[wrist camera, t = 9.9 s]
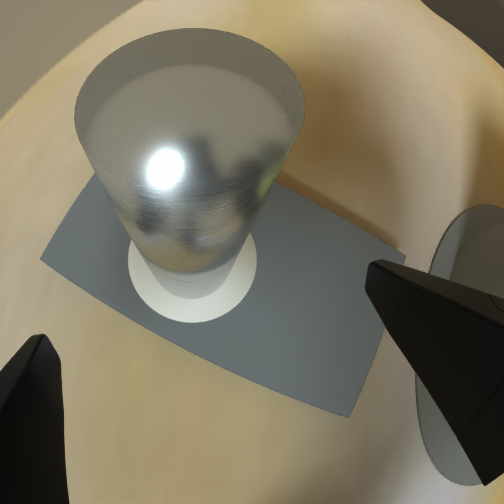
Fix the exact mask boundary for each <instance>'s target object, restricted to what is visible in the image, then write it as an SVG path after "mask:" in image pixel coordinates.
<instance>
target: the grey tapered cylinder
mask: <svg viewBox="0 0 504 504" xmlns="http://www.w3.org/2000/svg"><path fill="white" fill-rule="evenodd" d="M429 274H432V275H435V276H438V277H441V278H444V279H447V280H450V281H453V282H456V283H459V284H462V285H465V286H468V287H471V288H474V289H477V290H480V291H483V292H486V294H487V293H489V294H492V295H495V296H498V297H501V298H504V209H503V208H500V207H498V206H494V205H480V206H476V207H473V208H471V209H469V210H467V211H466V212H464V213H463V214H461V215H460V216H459V217H458V218H457V219H456V220H455V221H454V222H453V223H452V224H451V226H450V227H449V228H448V230H447V231H446V233H445V235H444V236H443V238H442V240H441V242H440V244H439V246H438V248H437V251H436V253H435V256H434V258H433V261H432V264H431V267H430V270H429ZM415 387H416V404H417V413H418V420H419V426H420V431H421V435H422V439H423V442H424V445H425V448H426V451H427V453H428V455H429V457H430V459H431V461H432V463H433V465H434V466H435V467H436V469H437V470H438V471H439V472H440V473H441V474H442V475H443V476H444V477H445V478H447V479H448V480H450V481H452V482H454V483H457V484H460V485H466V486H473V485H479V484H482V482H481V480H480V479H479V477H478V475H477V473H476V471H475V469H474V468H473V466H472V464H471V462H470V460H469V459H468V457H467V455H466V453H465V452H464V450H463V448H462V447H461V445H460V443H459V441H458V440H457V437H456V436H455V434H454V433H453V431H452V429H451V428H450V426H449V424H448V423H447V421H446V419H445V418H444V416H443V415H442V413H441V411H440V410H439V408H438V407H437V405H436V403H435V402H434V400H433V399H432V397H431V395H430V394H429V392H428V391H427V389H426V388H425V386H424V385H423V383H422V382H421V380H420V378H419V377H418V375H417V374H416V372H415Z"/></svg>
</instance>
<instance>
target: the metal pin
mask: <svg viewBox="0 0 504 504" xmlns="http://www.w3.org/2000/svg"><path fill="white" fill-rule="evenodd" d="M304 116H305V100H304V95H303V91H302V89H301V86H300V83H299V81H298V80H297V78H296V76H295V74H294V73H293V72H292V70H291V69H290V68H289V67H288V65H287V64H286V63H285V62H284V61H283V60H282V59H281V58H279V57H278V56H277V55H276V54H275V53H273V52H272V51H270V50H269V49H267V48H266V47H264V46H263V45H261V44H259V43H257V42H255V41H253V40H251V39H248V38H245V37H243V36H240V35H237V34H233V33H230V32H225V31H220V30H214V29H204V28H184V29H174V30H167V31H162V32H158V33H154V34H151V35H147V36H144V37H142V38H139V39H137V40H134V41H132V42H130V43H128V44H126V45H124V46H122V47H121V48H119V49H117V50H116V51H114V52H113V53H111V54H110V55H109V56H108V57H106V58H105V59H104V60H103V61H102V62H101V63H100V64H99V65H97V66H96V67H95V69H94V70H93V71H92V72H91V73H90V75H89V76H88V77H87V79H86V81H85V82H84V84H83V86H82V87H81V90H80V92H79V94H78V97H77V101H76V105H75V114H74V121H75V128H76V132H77V135H78V138H79V141H80V143H81V145H82V147H83V149H84V151H85V153H86V155H87V157H88V159H89V161H90V163H91V165H92V167H93V169H94V171H95V173H96V175H97V177H98V179H99V181H100V183H101V185H102V187H103V189H104V191H105V193H106V194H107V196H108V198H109V200H110V202H111V204H112V206H113V207H114V209H115V211H116V213H117V215H118V216H119V218H120V220H121V222H122V224H123V225H124V227H125V229H126V231H127V232H128V234H129V236H130V238H131V239H132V241H133V243H134V244H135V246H136V248H137V249H138V251H139V253H140V254H141V256H142V258H143V259H144V261H145V263H146V264H147V266H148V268H149V269H150V271H151V272H152V274H153V276H154V277H155V279H156V280H157V282H158V283H159V284H160V285H161V287H162V288H163V289H165V290H166V291H167V292H169V293H170V294H172V295H175V296H177V297H180V298H185V299H197V298H202V297H205V296H208V295H210V294H212V293H213V292H215V291H216V290H217V289H219V288H220V287H221V286H222V285H223V283H224V282H225V281H226V279H227V277H228V275H229V273H230V271H231V269H232V267H233V265H234V263H235V261H236V259H237V257H238V255H239V253H240V251H241V249H242V247H243V245H244V243H245V241H246V239H247V237H248V235H249V233H250V231H251V229H252V227H253V225H254V223H255V221H256V219H257V217H258V215H259V213H260V211H261V209H262V207H263V205H264V203H265V201H266V199H267V197H268V195H269V193H270V191H271V189H272V187H273V185H274V183H275V181H276V179H277V177H278V175H279V173H280V171H281V169H282V167H283V165H284V163H285V161H286V159H287V157H288V155H289V153H290V151H291V149H292V147H293V145H294V143H295V141H296V139H297V137H298V135H299V133H300V130H301V128H302V125H303V121H304Z"/></svg>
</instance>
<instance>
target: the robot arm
mask: <svg viewBox="0 0 504 504" xmlns="http://www.w3.org/2000/svg"><path fill="white" fill-rule="evenodd" d="M365 291H366V294H367V296H368V297H369V299H370V301H371V303H372V304H373V306H374V308H375V310H376V311H377V313H378V315H379V317H380V318H381V320H382V322H383V324H384V326H385V327H386V329H387V331H388V332H389V334H390V335H391V337H392V338H393V340H394V341H395V343H396V344H397V346H398V347H399V349H400V350H401V352H402V353H403V355H404V356H405V357H406V359H407V360H408V362H409V363H410V365H411V366H412V368H413V369H414V371H415V372H416V374H417V375H418V377H419V378H420V380H421V382H422V383H423V385H424V386H425V388H426V389H427V391H428V392H429V394H430V395H431V397H432V399H433V400H434V402H435V403H436V405H437V407H438V408H439V410H440V411H441V413H442V415H443V416H444V418H445V419H446V421H447V423H448V424H449V426H450V428H451V429H452V431H453V433H454V434H455V436H456V437H457V440H458V441H459V443H460V445H461V447H462V448H463V450H464V452H465V453H466V455H467V457H468V459H469V460H470V462H471V464H472V466H473V468H474V469H475V471H476V473H477V475H478V477H479V479H480V480H481V482H482V484H483V485H484V486H486V485H488V484H489V483H491V482H492V481H493V480H495V479H496V478H498V477H499V476H500V475H502V474H503V473H504V298H501V297H498V296H495V295H492V294H489V293H487V294H486V292H483V291H480V290H477V289H474V288H471V287H468V286H465V285H462V284H459V283H456V282H453V281H450V280H447V279H444V278H441V277H438V276H435V275H432V274H428V273H425V272H422V271H419V270H416V269H413V268H410V267H406V266H403V265H400V264H397V263H394V262H390V261H387V260H384V259H379V260H375V261H372V262H370V263H369V265H368V268H367V274H366V280H365ZM0 504H70V503H69V496H68V487H67V476H66V463H65V444H64V407H63V394H62V378H61V361H60V358H59V355H58V354H57V352H56V350H55V349H54V347H53V345H52V343H51V342H50V340H49V338H48V337H47V336H46V335H45V334H38V335H33V336H31V337H30V338H29V339H28V340H27V341H26V342H25V343H24V345H23V346H22V347H21V348H20V349H19V350H18V351H17V352H16V354H15V355H14V356H13V357H12V358H11V359H10V360H9V362H8V363H7V364H6V365H5V366H4V367H3V369H2V370H1V371H0Z"/></svg>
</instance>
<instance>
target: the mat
mask: <svg viewBox="0 0 504 504" xmlns="http://www.w3.org/2000/svg"><path fill="white" fill-rule="evenodd" d="M405 257H406V256H405V255H404V254H402V253H401V252H399V251H397V250H396V249H394V248H393V247H391V246H389V245H388V244H386V243H384V242H383V241H381V240H379V239H378V238H376V237H374V236H373V235H371V234H369V233H368V232H366V231H364V230H363V229H361V228H359V227H357V226H356V225H354V224H352V223H350V222H349V221H347V220H345V219H343V218H342V217H340V216H338V215H336V214H335V213H333V212H331V211H329V210H327V209H326V208H324V207H322V206H320V205H318V204H317V203H315V202H313V201H311V200H309V199H307V198H306V197H304V196H302V195H300V194H298V193H296V192H294V191H292V190H291V189H289V188H287V187H285V186H283V185H281V184H279V183H277V182H275V183H274V185H273V187H272V189H271V191H270V193H269V195H268V197H267V199H266V201H265V203H264V205H263V207H262V209H261V211H260V213H259V215H258V217H257V219H256V221H255V223H254V225H253V227H252V229H251V231H250V233H249V235H248V237H247V239H246V241H245V243H244V245H243V247H242V249H241V251H240V253H239V255H238V257H237V259H236V261H235V263H234V265H233V267H232V269H231V271H230V273H229V275H228V277H227V279H226V281H225V282H224V283H223V285H222V286H221V287H220V288H219V289H217V290H216V291H215V292H213V293H212V294H210V295H208V296H205V297H202V298H197V299H185V298H180V297H177V296H175V295H172V294H170V293H169V292H167V291H166V290H165V289H163V288H162V287H161V285H160V284H159V283H158V282H157V280H156V279H155V277H154V276H153V274H152V272H151V271H150V269H149V268H148V266H147V264H146V263H145V261H144V259H143V258H142V256H141V254H140V253H139V251H138V249H137V248H136V246H135V244H134V243H133V241H132V239H131V238H130V236H129V234H128V232H127V231H126V229H125V227H124V225H123V224H122V222H121V220H120V218H119V216H118V215H117V213H116V211H115V209H114V207H113V206H112V204H111V202H110V200H109V198H108V196H107V194H106V193H105V191H104V189H103V187H102V185H101V183H100V181H99V179H98V177H97V175H96V173H94V175H93V176H92V178H91V179H90V180H89V182H88V183H87V185H86V186H85V187H84V189H83V190H82V192H81V193H80V195H79V196H78V198H77V199H76V200H75V202H74V203H73V205H72V207H71V208H70V210H69V211H68V213H67V214H66V216H65V217H64V219H63V221H62V222H61V224H60V225H59V227H58V229H57V230H56V232H55V234H54V235H53V237H52V239H51V240H50V242H49V244H48V245H47V247H46V249H45V251H44V252H43V254H42V256H41V258H40V260H42V261H43V262H44V263H46V264H47V265H48V266H50V267H51V268H53V269H54V270H55V271H57V272H58V273H60V274H61V275H63V276H64V277H65V278H67V279H68V280H70V281H71V282H73V283H74V284H76V285H77V286H79V287H80V288H82V289H83V290H85V291H86V292H88V293H89V294H91V295H92V296H94V297H95V298H97V299H99V300H100V301H102V302H103V303H105V304H107V305H108V306H110V307H111V308H113V309H115V310H116V311H118V312H120V313H121V314H123V315H125V316H126V317H128V318H130V319H131V320H133V321H135V322H136V323H138V324H140V325H142V326H143V327H145V328H147V329H149V330H150V331H152V332H154V333H156V334H158V335H159V336H161V337H163V338H165V339H167V340H169V341H170V342H172V343H174V344H176V345H178V346H180V347H182V348H184V349H186V350H188V351H189V352H191V353H193V354H195V355H197V356H199V357H201V358H203V359H205V360H207V361H209V362H211V363H214V364H216V365H218V366H220V367H222V368H224V369H226V370H228V371H230V372H233V373H235V374H237V375H239V376H241V377H244V378H246V379H248V380H250V381H253V382H255V383H257V384H260V385H262V386H264V387H267V388H269V389H271V390H274V391H276V392H279V393H281V394H284V395H286V396H289V397H291V398H294V399H296V400H299V401H301V402H304V403H307V404H309V405H312V406H315V407H317V408H320V409H323V410H326V411H329V412H331V413H334V414H337V415H340V416H343V417H346V418H349V417H350V415H351V412H352V410H353V408H354V406H355V404H356V401H357V399H358V397H359V394H360V392H361V390H362V387H363V385H364V382H365V380H366V377H367V375H368V372H369V370H370V367H371V365H372V362H373V360H374V357H375V354H376V351H377V349H378V346H379V343H380V340H381V338H382V335H383V332H384V329H385V326H384V324H383V322H382V320H381V318H380V317H379V315H378V313H377V311H376V310H375V308H374V306H373V304H372V303H371V301H370V299H369V297H368V296H367V294H366V291H365V280H366V274H367V268H368V265H369V263H370V262H372V261H375V260H379V259H384V260H387V261H390V262H394V263H397V264H400V265H404V261H405Z"/></svg>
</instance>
